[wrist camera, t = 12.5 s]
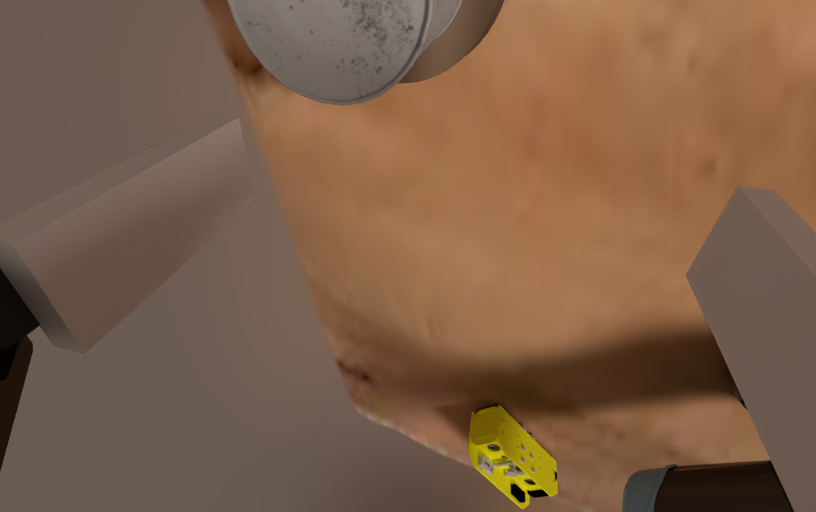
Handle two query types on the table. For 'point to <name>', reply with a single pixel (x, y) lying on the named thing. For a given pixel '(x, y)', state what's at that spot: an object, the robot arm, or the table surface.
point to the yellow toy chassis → (510, 457)
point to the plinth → (455, 39)
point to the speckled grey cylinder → (340, 42)
